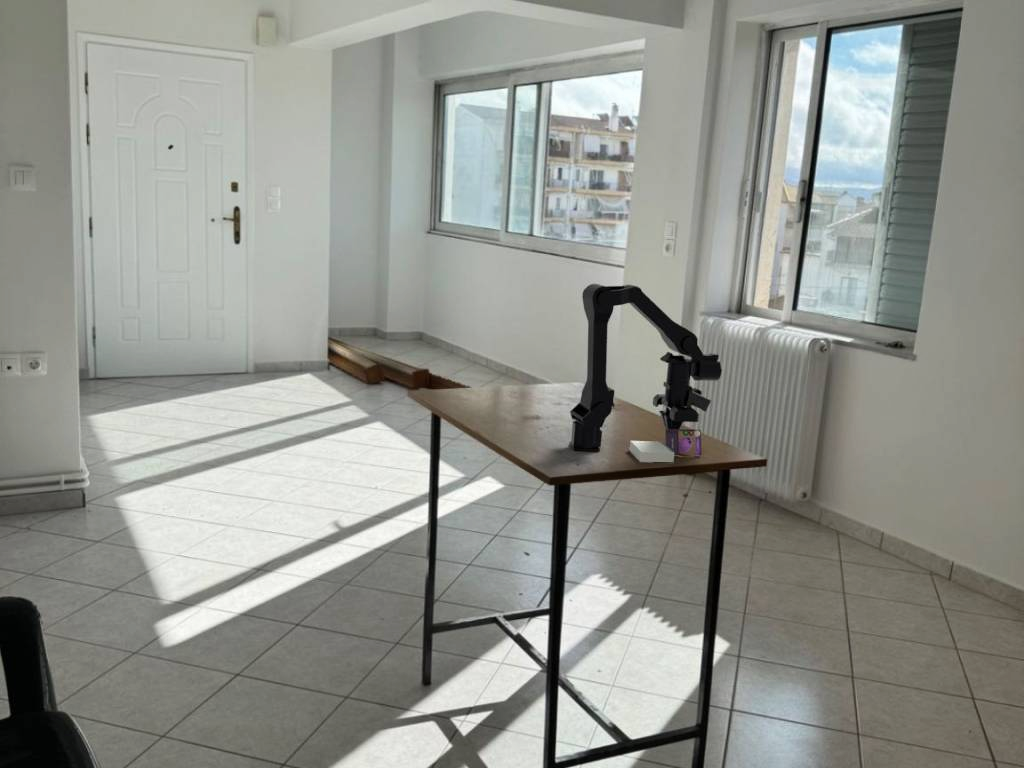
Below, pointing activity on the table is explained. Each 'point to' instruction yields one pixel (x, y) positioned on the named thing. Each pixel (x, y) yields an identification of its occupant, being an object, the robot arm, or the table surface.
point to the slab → (651, 451)
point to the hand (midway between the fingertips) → (671, 441)
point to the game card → (682, 440)
